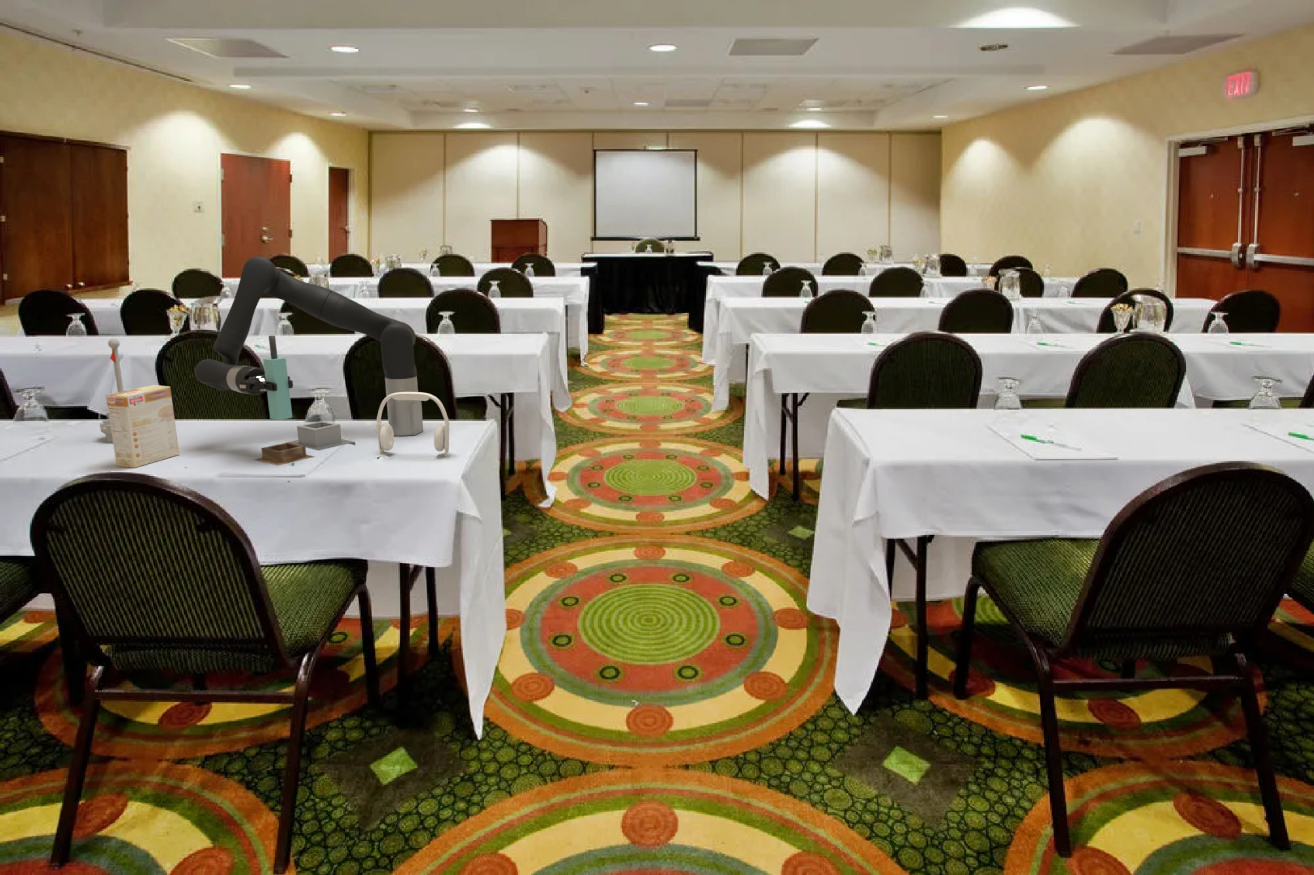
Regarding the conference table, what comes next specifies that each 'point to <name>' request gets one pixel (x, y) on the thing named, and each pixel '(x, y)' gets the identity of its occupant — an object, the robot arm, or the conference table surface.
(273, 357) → the plug
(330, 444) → the box
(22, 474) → the conference table surface
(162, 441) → the coffeecake box
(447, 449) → the headset
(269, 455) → the brown open square box
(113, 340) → the flag stand
